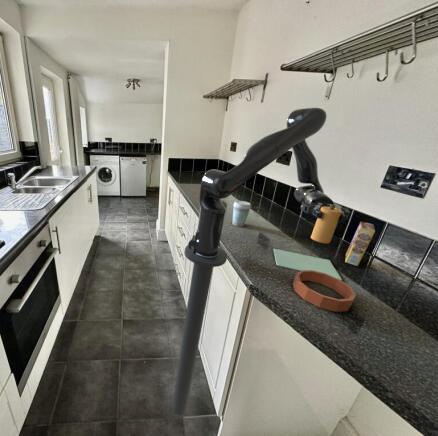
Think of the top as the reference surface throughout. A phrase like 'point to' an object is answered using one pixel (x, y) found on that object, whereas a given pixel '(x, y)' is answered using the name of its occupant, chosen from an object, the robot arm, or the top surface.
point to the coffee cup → (240, 212)
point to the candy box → (359, 243)
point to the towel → (304, 263)
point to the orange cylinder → (326, 224)
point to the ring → (318, 298)
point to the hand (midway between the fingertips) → (331, 217)
